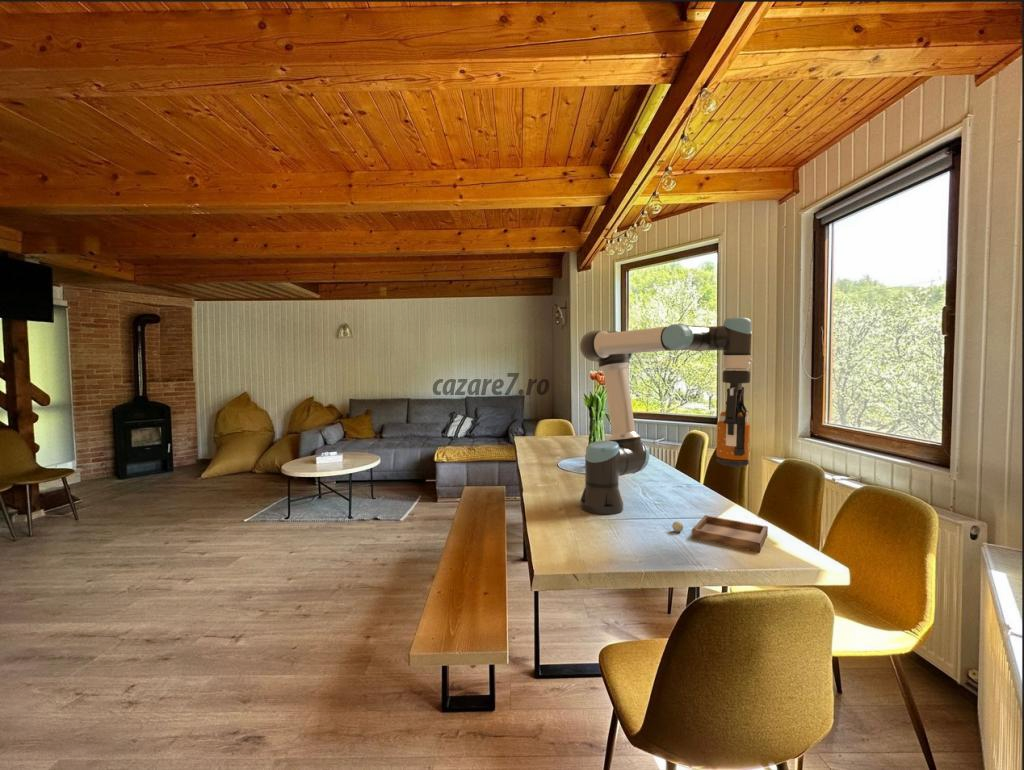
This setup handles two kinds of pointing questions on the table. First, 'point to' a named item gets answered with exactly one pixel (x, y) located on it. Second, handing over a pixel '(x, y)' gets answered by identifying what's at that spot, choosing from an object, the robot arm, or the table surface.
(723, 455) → the canister
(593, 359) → the robot arm
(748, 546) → the tray
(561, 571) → the table surface
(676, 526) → the ball
